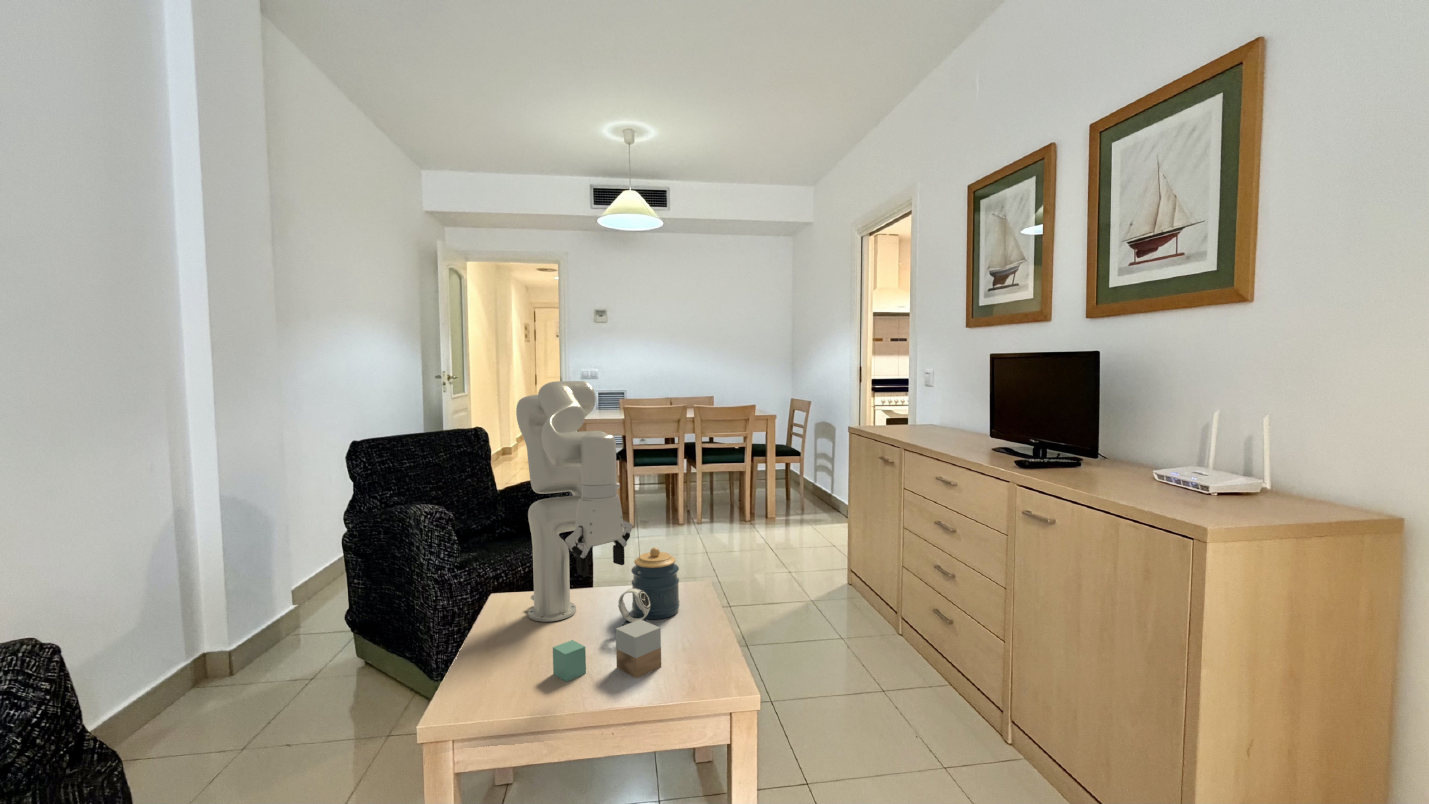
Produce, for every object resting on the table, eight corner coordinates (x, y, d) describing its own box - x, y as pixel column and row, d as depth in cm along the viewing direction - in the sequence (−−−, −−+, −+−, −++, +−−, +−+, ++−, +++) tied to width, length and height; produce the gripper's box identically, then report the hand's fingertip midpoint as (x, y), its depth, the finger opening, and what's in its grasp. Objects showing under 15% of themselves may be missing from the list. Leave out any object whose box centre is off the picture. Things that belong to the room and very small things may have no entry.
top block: (616, 648, 136) (615, 628, 136) (640, 638, 141) (640, 619, 141) (636, 658, 131) (635, 637, 131) (660, 647, 136) (660, 627, 136)
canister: (666, 599, 178) (665, 539, 177) (687, 614, 166) (686, 549, 166) (624, 608, 171) (623, 545, 170) (643, 624, 160) (642, 557, 159)
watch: (645, 639, 151) (645, 595, 150) (615, 636, 153) (614, 592, 152) (653, 630, 156) (653, 587, 156) (624, 627, 158) (623, 585, 158)
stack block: (553, 674, 134) (552, 647, 133) (573, 666, 137) (572, 639, 137) (566, 682, 130) (565, 654, 130) (585, 673, 134) (585, 646, 134)
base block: (616, 668, 136) (616, 648, 136) (641, 657, 141) (641, 638, 141) (636, 679, 131) (636, 658, 131) (661, 667, 136) (661, 647, 136)
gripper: (619, 484, 142) (621, 557, 143) (555, 495, 129) (557, 575, 130) (641, 487, 137) (642, 563, 138) (576, 499, 124) (578, 583, 125)
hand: (601, 569), depth 134 cm, fingers open, 9 cm apart
